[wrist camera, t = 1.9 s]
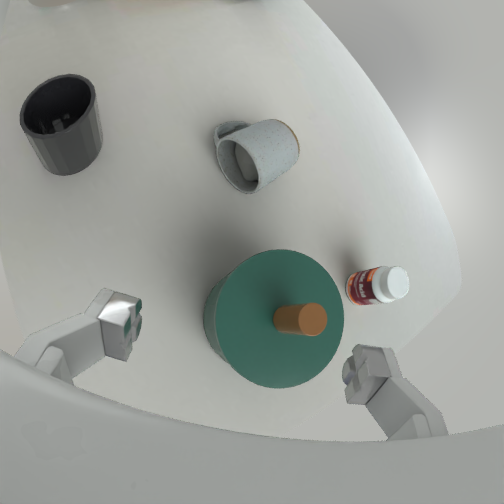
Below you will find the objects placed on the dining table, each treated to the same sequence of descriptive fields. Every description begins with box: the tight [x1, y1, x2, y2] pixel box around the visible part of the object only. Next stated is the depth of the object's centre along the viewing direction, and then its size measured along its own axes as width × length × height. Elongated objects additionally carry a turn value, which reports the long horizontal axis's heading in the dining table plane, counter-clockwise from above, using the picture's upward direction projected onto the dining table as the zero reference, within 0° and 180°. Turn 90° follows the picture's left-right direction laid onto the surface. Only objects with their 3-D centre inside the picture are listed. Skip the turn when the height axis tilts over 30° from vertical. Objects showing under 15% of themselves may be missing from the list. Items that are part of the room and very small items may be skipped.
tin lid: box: [214, 249, 344, 388], centre depth 26 cm, size 13×13×6 cm
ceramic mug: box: [214, 119, 300, 194], centre depth 36 cm, size 11×8×8 cm
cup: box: [20, 74, 102, 176], centre depth 28 cm, size 9×9×9 cm
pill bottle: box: [346, 266, 409, 305], centre depth 38 cm, size 5×5×8 cm
